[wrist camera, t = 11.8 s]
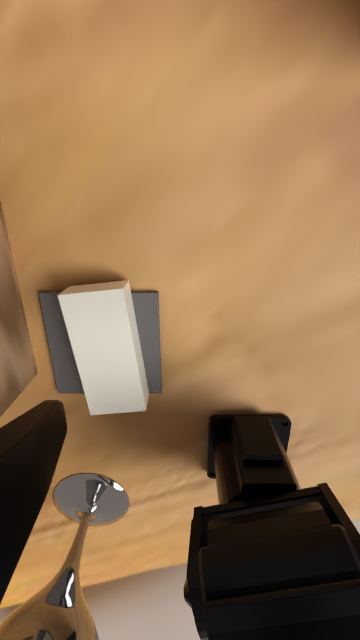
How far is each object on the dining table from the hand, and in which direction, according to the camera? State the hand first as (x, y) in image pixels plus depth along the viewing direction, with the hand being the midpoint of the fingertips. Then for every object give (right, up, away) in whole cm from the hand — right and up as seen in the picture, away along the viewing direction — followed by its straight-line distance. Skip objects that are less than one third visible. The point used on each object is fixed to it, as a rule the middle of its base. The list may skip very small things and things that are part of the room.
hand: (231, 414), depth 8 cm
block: (-6, +1, +13) cm, 15 cm away
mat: (-7, +1, +14) cm, 15 cm away
